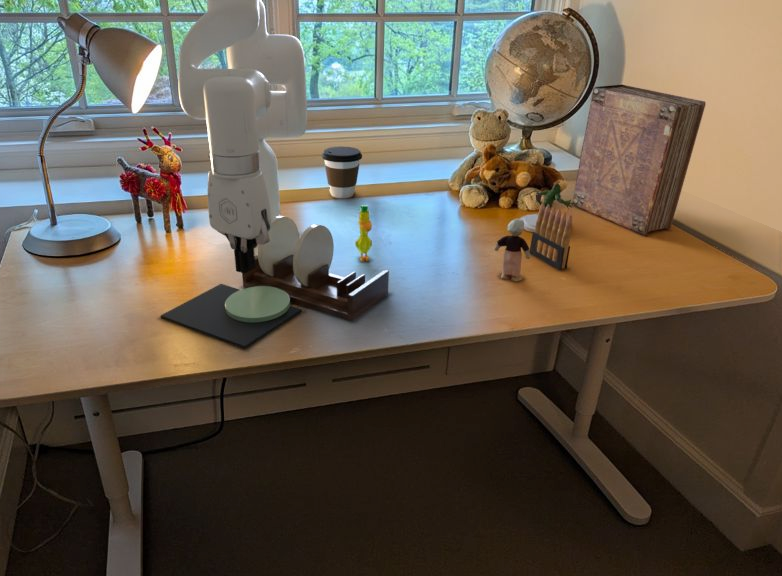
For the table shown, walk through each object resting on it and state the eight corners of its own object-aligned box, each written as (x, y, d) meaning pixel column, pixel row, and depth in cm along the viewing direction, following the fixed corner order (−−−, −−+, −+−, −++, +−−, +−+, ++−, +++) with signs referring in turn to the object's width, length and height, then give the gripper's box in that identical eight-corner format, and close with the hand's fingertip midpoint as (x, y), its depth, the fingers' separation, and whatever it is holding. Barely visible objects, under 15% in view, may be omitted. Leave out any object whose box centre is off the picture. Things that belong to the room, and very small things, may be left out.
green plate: (224, 320, 113) (292, 314, 115) (225, 289, 123) (287, 283, 124) (225, 325, 114) (292, 319, 115) (225, 293, 123) (288, 287, 125)
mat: (160, 318, 117) (160, 315, 116) (221, 286, 128) (221, 283, 128) (245, 349, 108) (244, 346, 108) (301, 311, 119) (301, 309, 119)
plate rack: (243, 287, 128) (240, 263, 125) (283, 265, 137) (282, 242, 135) (352, 321, 117) (352, 296, 114) (388, 295, 126) (389, 270, 123)
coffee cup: (332, 203, 172) (332, 158, 166) (316, 191, 180) (315, 148, 174) (368, 197, 176) (369, 153, 170) (351, 187, 185) (351, 144, 178)
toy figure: (375, 265, 138) (377, 211, 131) (359, 266, 137) (360, 212, 131) (368, 253, 143) (369, 201, 137) (353, 254, 143) (353, 202, 136)
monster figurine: (577, 228, 159) (586, 187, 153) (544, 237, 153) (551, 195, 148) (541, 214, 167) (548, 175, 162) (508, 222, 161) (514, 182, 156)
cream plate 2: (294, 295, 122) (291, 235, 116) (330, 273, 131) (329, 216, 124) (298, 296, 122) (295, 236, 115) (334, 274, 130) (333, 217, 124)
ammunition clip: (566, 269, 138) (577, 215, 131) (560, 270, 137) (570, 216, 131) (535, 251, 146) (543, 199, 139) (528, 252, 145) (537, 200, 139)
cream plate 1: (259, 284, 126) (254, 226, 119) (296, 263, 134) (294, 208, 128) (263, 285, 125) (259, 227, 119) (300, 264, 134) (298, 209, 128)
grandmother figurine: (528, 276, 134) (537, 218, 127) (526, 283, 131) (535, 224, 124) (492, 271, 136) (499, 213, 130) (488, 278, 133) (496, 219, 126)
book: (671, 230, 158) (707, 102, 142) (644, 236, 155) (678, 105, 139) (596, 200, 177) (621, 83, 161) (571, 205, 174) (593, 86, 158)
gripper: (184, 160, 101) (198, 267, 111) (256, 176, 95) (265, 288, 105) (217, 150, 107) (228, 253, 117) (288, 165, 100) (293, 272, 110)
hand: (245, 269), depth 111 cm, fingers closed
